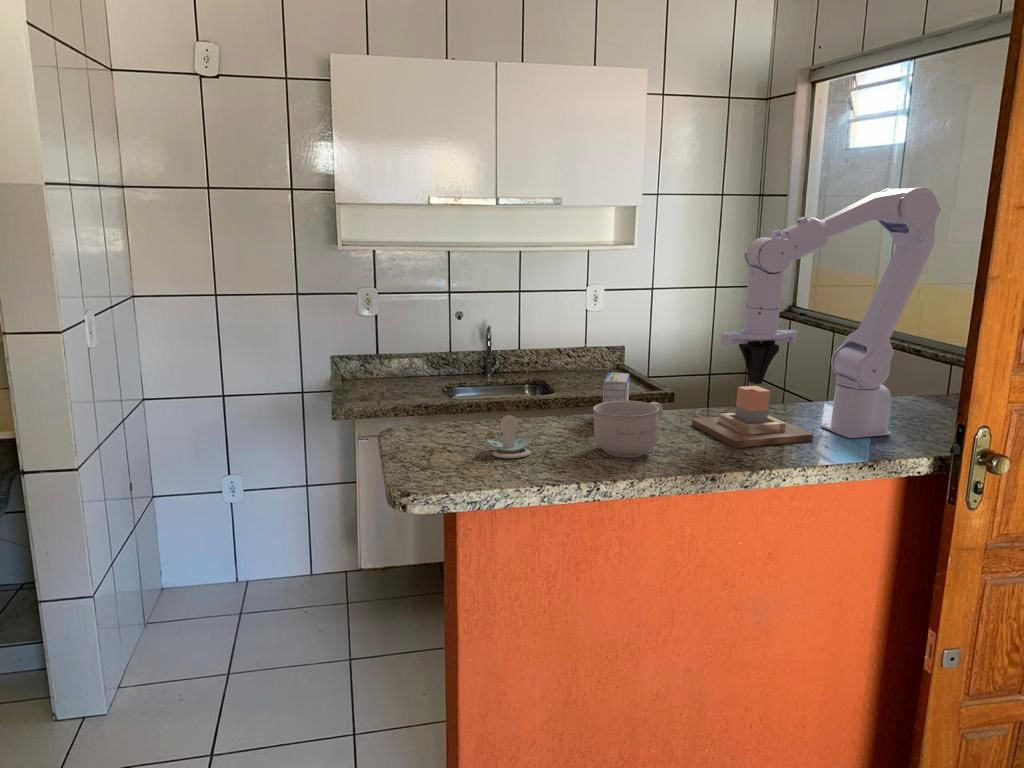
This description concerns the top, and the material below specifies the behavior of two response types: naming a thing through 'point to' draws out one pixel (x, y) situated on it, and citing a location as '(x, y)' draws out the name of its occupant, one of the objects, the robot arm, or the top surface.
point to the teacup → (626, 427)
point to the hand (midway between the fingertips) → (755, 382)
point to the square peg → (752, 404)
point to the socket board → (751, 431)
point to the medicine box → (616, 387)
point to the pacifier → (510, 440)
